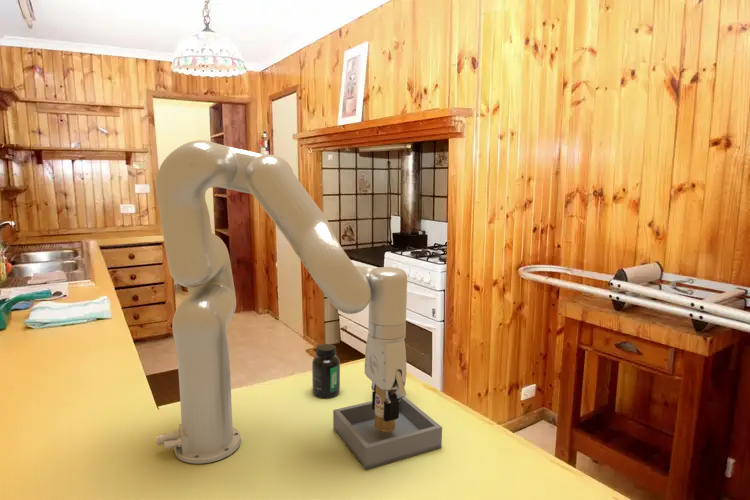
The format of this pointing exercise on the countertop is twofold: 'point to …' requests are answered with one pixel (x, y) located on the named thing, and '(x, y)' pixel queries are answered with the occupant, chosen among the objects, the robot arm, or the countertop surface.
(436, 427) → the tray
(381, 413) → the sprinkles bottle
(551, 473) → the countertop surface
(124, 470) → the countertop surface
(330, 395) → the supplement bottle
